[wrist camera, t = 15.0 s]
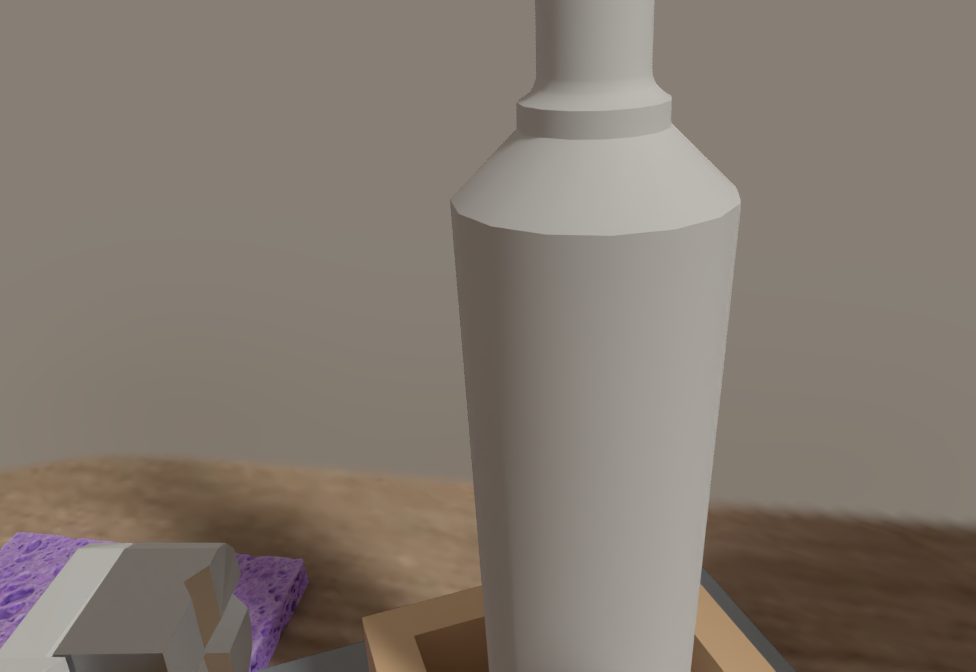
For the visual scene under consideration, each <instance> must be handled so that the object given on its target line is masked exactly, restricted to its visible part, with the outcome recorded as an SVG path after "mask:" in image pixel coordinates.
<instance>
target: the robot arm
mask: <svg viewBox="0 0 976 672" xmlns="http://www.w3.org/2000/svg"><path fill="white" fill-rule="evenodd" d="M240 575H241V572H240V568H239V564H238V560H237V556H236V553H235V549H234V548H233V547H231V546H230V545H229V544H227V543H139V542H137V543H135V544H132V543H90V544H88V545H85V546H83V547H81V548H79V549H77V550H76V551H75V553H74V554H73V555H72V556H71V558H70V559H69V560H68V562H67V563H66V564H65V566H64V567H63V568H62V569H61V571H60V572H59V573H58V575H57V576H56V577H55V579H54V580H53V581H52V582H51V584H50V585H49V586H48V588H47V589H46V590H45V591H44V593H43V594H42V595H41V597H40V598H39V599H38V601H37V602H36V603H35V604H34V606H33V607H32V608H31V610H30V611H29V612H28V613H27V615H26V616H25V617H24V619H23V620H22V621H21V623H20V624H19V625H18V626H17V628H16V629H15V630H14V632H13V633H12V634H11V635H10V637H9V638H8V639H7V641H6V642H5V643H4V645H3V646H2V647H1V648H0V672H249V666H250V660H251V653H252V626H251V621H250V615H249V610H248V607H247V606H246V605H245V604H244V603H242V602H241V601H240V600H239V599H238V598H237V597H236V596H235V595H234V594H233V591H234V589H235V587H236V584H237V582H238V580H239V578H240Z"/></svg>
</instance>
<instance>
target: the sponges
mask: <svg viewBox="0 0 976 672" xmlns="http://www.w3.org/2000/svg"><path fill="white" fill-rule="evenodd" d="M90 543H117V542H109V541H104V540H98V541H96V540H90V539H85V538H78V539H72V538H66V537H64V536H60V535H51V534H46V535H44V534H39V533H37V534H36V533H31V532H30V533H26V532H22V533H21V532H17V533H16V534H15V535H14V536H13V537H12V538H11V539H10V540H9V541H8V542H7V543H6V544H5V545H4V546H3V547H2V548H1V549H0V648H1V647H2V646H3V645H4V643H5V642H6V641H7V639H8V638H9V637H10V635H11V634H12V633H13V632H14V630H15V629H16V628H17V626H18V625H19V624H20V623H21V621H22V620H23V619H24V617H25V616H26V615H27V613H28V612H29V611H30V610H31V608H32V607H33V606H34V604H35V603H36V602H37V601H38V599H39V598H40V597H41V595H42V594H43V593H44V591H45V590H46V589H47V588H48V586H49V585H50V584H51V582H52V581H53V580H54V579H55V577H56V576H57V575H58V573H59V572H60V571H61V569H62V568H63V567H64V566H65V564H66V563H67V562H68V560H69V559H70V558H71V556H72V555H73V554H74V553H75V551H76V550H77V549H79V548H81V547H83V546H85V545H88V544H90ZM236 556H237V560H238V564H239V568H240V572H241V575H240V578H239V580H238V582H237V584H236V587H235V589H234V591H233V594H234V595H235V596H236V597H237V598H238V599H239V600H240V601H241V602H242V603H244V604H245V605H246V606H247V607H248V610H249V615H250V621H251V626H252V653H251V660H250V666H249V672H255V671H257V670H261V669H265V668H267V666H268V664H269V661H270V659H271V657H272V656H273V654H274V652H275V649H276V646H277V644H278V643H279V639H280V634H281V631H282V630H283V629H284V628H285V627H286V625H287V624H288V623H289V621H290V619H291V617H292V615H293V613H294V610H295V608H296V607H297V605H298V603H299V602H300V600H301V598H302V596H303V594H304V592H305V590H306V588H307V586H308V584H309V579H308V576H307V574H306V572H305V571H306V568H305V566H304V565H303V559H300V558H299V559H291V558H288V557H275V556H261V557H252V556H250V555H248V554H238V553H236Z"/></svg>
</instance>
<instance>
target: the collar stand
mask: <svg viewBox="0 0 976 672" xmlns="http://www.w3.org/2000/svg"><path fill="white" fill-rule="evenodd" d="M362 623H363V630H364V637H365V641H362V642H359V643H355V644H352V645H348V646H344V647H341V648H337V649H333V650H330V651H326V652H323V653H319V654H315V655H312V656H308V657H304V658H301V659H297V660H294V661H290V662H286V663H283V664H279V665H275V666H272V667H268V668H265V669H261V670H257V671H255V672H489V664H488V652H487V640H486V628H485V616H484V603H483V591H482V586H478V587H474V588H471V589H467V590H463V591H459V592H456V593H452V594H448V595H444V596H441V597H437V598H433V599H429V600H426V601H422V602H418V603H414V604H411V605H407V606H403V607H399V608H396V609H392V610H388V611H384V612H381V613H377V614H373V615H369V616H366V617H362ZM691 672H796V671H795V670H794V669H793V668H792V666H791V665H790V664H789V663H788V662H787V661H786V660H785V659H784V657H783V656H782V655H781V654H780V653H779V652H778V651H777V650H776V648H775V647H774V646H773V645H772V644H771V643H770V642H769V641H768V640H767V638H766V637H765V636H764V635H763V634H762V633H761V632H760V631H759V629H758V628H757V627H756V626H755V625H754V624H753V623H752V622H751V620H750V619H749V618H748V617H747V616H746V615H745V614H744V613H743V611H742V610H741V609H740V608H739V607H738V606H737V605H736V604H735V602H734V601H733V600H732V599H731V598H730V597H729V596H728V595H727V594H726V592H725V591H724V590H723V589H722V588H721V587H720V586H719V585H718V583H717V582H716V581H715V580H714V579H713V578H712V577H711V576H710V574H709V573H708V572H707V571H706V570H705V569H704V568H703V567H702V570H701V579H700V588H699V598H698V607H697V616H696V625H695V635H694V644H693V653H692V663H691Z"/></svg>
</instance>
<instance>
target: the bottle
mask: <svg viewBox="0 0 976 672" xmlns="http://www.w3.org/2000/svg"><path fill="white" fill-rule="evenodd" d="M535 5H536V6H535V9H536V10H535V11H536V80H535V83H534V86H533V88H532V90H531V91H530V92H529V93H528V94H527V95H526V96H524V97H522V98H521V99H520V100H519V101H518V102H517V129H516V130H515V131H514V132H513V133H512V135H510V136H509V138H508V139H507V140H506V141H505V142H504V143H503V144H502V145H501V146H500V147H499V148H498V149H497V150H496V151H495V152H494V154H492V156H491V157H490V158H489V159H488V160H487V161H486V162H485V163H484V164H483V165H482V166H481V167H480V168H479V169H478V171H477V172H476V173H475V174H474V175H473V176H472V177H471V178H470V179H469V180H468V181H467V182H466V183H465V184H464V185H463V186H462V187H461V188H460V190H459V191H458V192H457V193H456V194H455V195H454V196H453V197H452V198H451V199H450V204H451V216H452V229H453V241H454V253H455V265H456V277H457V290H458V301H459V313H460V326H461V337H462V350H463V362H464V374H465V386H466V398H467V410H468V422H469V434H470V447H471V459H472V470H473V483H474V495H475V507H476V519H477V531H478V543H479V555H480V567H481V579H482V591H483V603H484V616H485V628H486V640H487V652H488V664H489V672H691V663H692V653H693V644H694V635H695V625H696V616H697V607H698V598H699V588H700V579H701V570H702V561H703V551H704V542H705V533H706V523H707V514H708V505H709V496H710V486H711V477H712V468H713V458H714V448H715V440H716V431H717V421H718V412H719V402H720V393H721V384H722V375H723V366H724V356H725V347H726V338H727V328H728V319H729V310H730V299H731V291H732V282H733V273H734V263H735V254H736V245H737V235H738V225H739V217H740V208H741V201H740V197H739V194H738V191H737V188H736V187H735V186H734V185H733V184H732V183H731V182H730V181H729V180H728V179H727V178H726V177H725V176H724V175H723V174H722V173H721V172H720V171H719V170H718V169H717V168H716V167H715V166H714V165H713V164H712V163H711V162H710V161H709V160H708V159H707V158H706V157H705V156H704V155H703V154H702V153H701V152H700V151H699V150H698V149H697V148H696V147H695V146H694V145H693V144H692V143H691V142H690V141H689V140H688V139H687V138H686V137H685V136H684V135H683V134H682V133H681V132H680V131H679V130H678V129H677V128H676V127H675V126H674V125H673V124H672V123H671V95H669V94H667V93H665V92H664V91H663V90H662V89H661V88H660V87H659V86H657V84H656V83H655V80H654V77H653V74H652V53H653V25H654V23H653V22H654V0H535Z"/></svg>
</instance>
